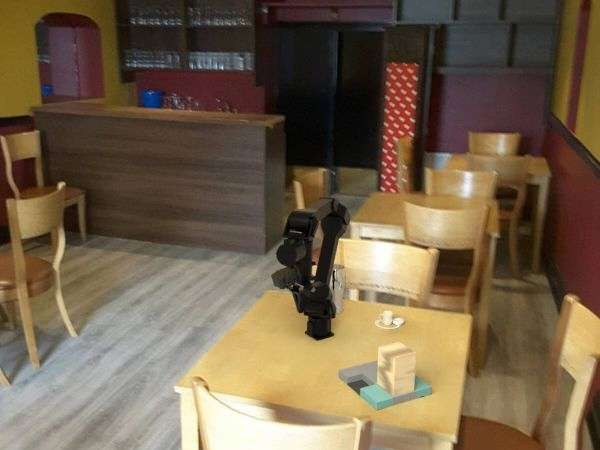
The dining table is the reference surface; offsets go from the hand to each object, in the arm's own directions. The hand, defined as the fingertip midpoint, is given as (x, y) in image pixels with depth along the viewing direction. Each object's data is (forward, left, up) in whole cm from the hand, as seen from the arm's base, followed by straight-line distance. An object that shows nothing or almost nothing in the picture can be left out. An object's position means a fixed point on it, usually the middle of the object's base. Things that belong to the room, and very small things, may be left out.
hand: (300, 312), depth 169 cm
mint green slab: (-7, +31, -13) cm, 34 cm away
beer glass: (-28, -20, -13) cm, 36 cm away
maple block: (-7, +30, -11) cm, 33 cm away
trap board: (-8, +25, -13) cm, 29 cm away
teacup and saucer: (-34, +1, -13) cm, 37 cm away
